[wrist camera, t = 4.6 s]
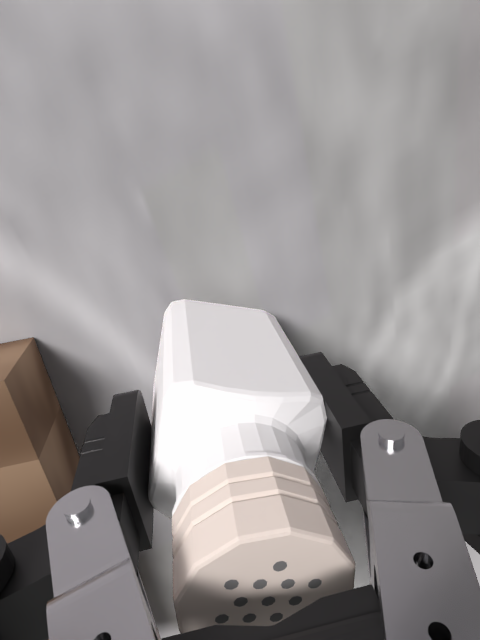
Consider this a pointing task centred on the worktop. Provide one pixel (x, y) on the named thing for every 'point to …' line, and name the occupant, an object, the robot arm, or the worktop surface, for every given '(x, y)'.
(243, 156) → the worktop surface
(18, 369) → the stand
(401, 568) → the robot arm
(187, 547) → the pepper shaker
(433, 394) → the worktop surface
